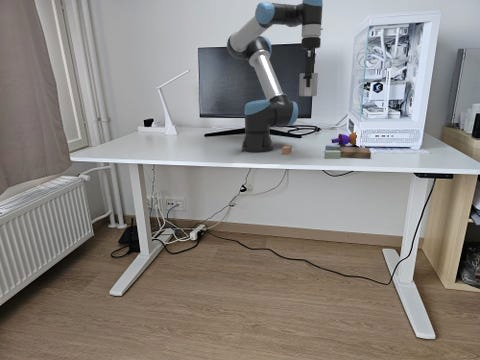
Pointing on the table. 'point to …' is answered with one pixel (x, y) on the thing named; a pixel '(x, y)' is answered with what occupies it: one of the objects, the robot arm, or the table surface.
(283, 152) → the brick terracotta
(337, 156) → the brick sage
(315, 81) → the cup
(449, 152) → the table surface
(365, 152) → the slab
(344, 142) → the toy
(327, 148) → the brick blue
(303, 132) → the table surface
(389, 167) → the table surface
